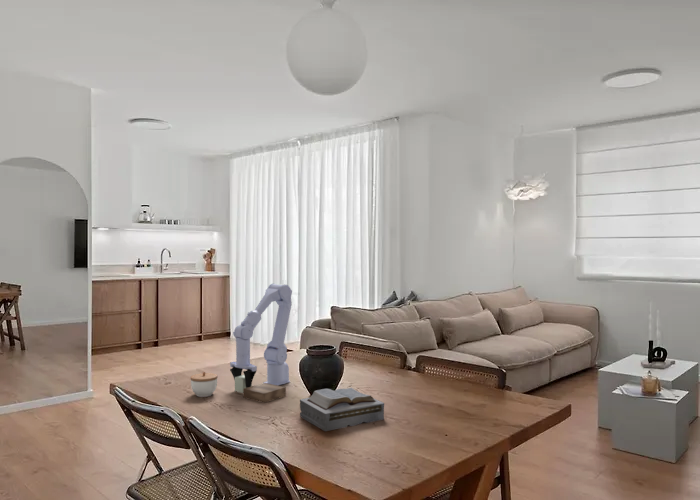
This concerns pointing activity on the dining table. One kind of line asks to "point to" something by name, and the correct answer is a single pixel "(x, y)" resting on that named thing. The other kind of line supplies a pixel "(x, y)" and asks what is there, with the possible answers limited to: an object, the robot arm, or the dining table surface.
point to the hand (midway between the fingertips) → (243, 385)
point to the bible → (340, 408)
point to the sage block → (240, 383)
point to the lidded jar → (204, 384)
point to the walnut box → (264, 392)
